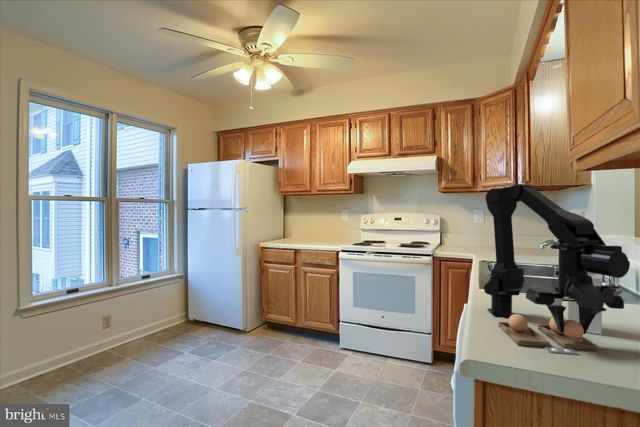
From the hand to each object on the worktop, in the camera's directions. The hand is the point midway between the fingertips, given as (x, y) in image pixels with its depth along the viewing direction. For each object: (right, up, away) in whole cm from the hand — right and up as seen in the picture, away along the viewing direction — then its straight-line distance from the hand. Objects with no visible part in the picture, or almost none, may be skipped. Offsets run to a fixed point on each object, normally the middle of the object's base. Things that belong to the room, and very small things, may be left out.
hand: (572, 332), depth 79 cm
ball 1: (-9, 0, +7) cm, 11 cm away
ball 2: (+1, 0, +5) cm, 6 cm away
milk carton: (+12, -3, +10) cm, 16 cm away
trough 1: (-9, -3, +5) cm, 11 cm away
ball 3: (0, +1, 0) cm, 1 cm away
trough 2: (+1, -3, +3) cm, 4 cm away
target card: (-6, -3, -4) cm, 8 cm away
